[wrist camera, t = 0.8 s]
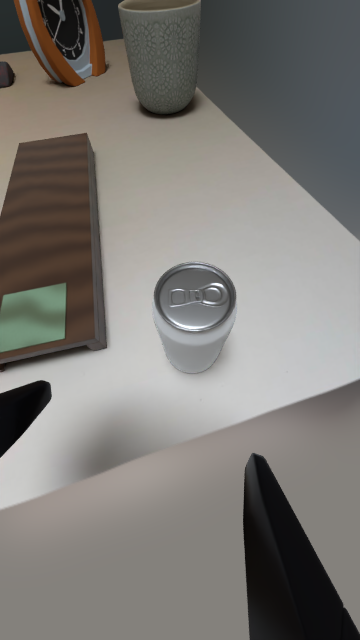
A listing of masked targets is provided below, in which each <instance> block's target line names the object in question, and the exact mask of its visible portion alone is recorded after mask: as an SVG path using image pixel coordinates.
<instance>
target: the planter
mask: <svg viewBox="0 0 360 640" xmlns="http://www.w3.org/2000/svg"><path fill="white" fill-rule="evenodd" d="M118 8H119V14H120V20H121V25H122V31H123V36H124V42H125V47H126V52H127V57H128V62H129V67H130V73H131V78H132V83H133V87H134V90H135V93H136V96H137V98H138V100H139V101H140V103H141V104H142V105H143V106H144V107H145V108H146V109H147V110H149V111H150V112H153V113H156V114H172V113H176V112H179V111H181V110H183V109H184V108H185V107H186V106H187V105H188V104H189V102H190V101H191V99H192V97H193V95H194V92H195V89H196V83H197V71H198V49H199V31H200V9H201V0H125V1H123V2H121V3H120V4H119V5H118Z"/></svg>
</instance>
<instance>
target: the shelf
mask: <svg viewBox="0 0 360 640" xmlns="http://www.w3.org/2000/svg"><path fill="white" fill-rule="evenodd" d="M83 345H86V346H88V347H89V348H91V349H92V350H94V351H96V350H100V349H104V348H107V345H106V330H105V315H104V300H103V284H102V269H101V254H100V239H99V224H98V209H97V194H96V179H95V164H94V152H93V149H92V146H91V143H90V141H89V138H88V135H87V133H83V134H77V135H70V136H64V137H57V138H51V139H44V140H38V141H31V142H25V143H19V146H18V150H17V154H16V158H15V162H14V166H13V169H12V173H11V177H10V181H9V185H8V189H7V193H6V196H5V200H4V204H3V208H2V212H1V216H0V372H2V371H4V369H5V363H6V362H11V361H15V360H20V359H24V358H29V357H33V356H38V355H42V354H47V353H51V352H56V351H60V350H65V349H69V348H74V347H78V346H83Z"/></svg>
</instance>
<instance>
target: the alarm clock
mask: <svg viewBox="0 0 360 640" xmlns="http://www.w3.org/2000/svg"><path fill="white" fill-rule="evenodd" d="M14 3H15V6H16V10H17V14H18V17H19V20H20V24H21V26H22V29H23V31H24V34H25V36H26V39H27V41H28V43H29V46H30V48H31V50H32V51H33V53H34V55H35V57H36V58H37V60H38V62H39V64H40V65H41V67H42V68H43V69H44V70H45V72H46V73H47V74H48V75H49V76H50V78H52V79H53V80H54V81H55V82H58V83H62V82H64V83H65V84H66V85H70V86H78V85H80V84H82V83H84V82H85V81H84V80H83V79H84V78H86V77H88V76H91V75H93V76H98V75H100V74H103V73H105V52H104V46H103V40H102V35H101V30H100V27H99V23H98V20H97V16H96V13H95V10H94V7H93V4H92V1H91V0H14Z"/></svg>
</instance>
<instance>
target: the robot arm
mask: <svg viewBox="0 0 360 640" xmlns="http://www.w3.org/2000/svg"><path fill="white" fill-rule="evenodd" d="M51 397H52V394H51V385H50V383H49V382H46V381H43V380H39V381H36V382H33V383H30V384H27V385H24V386H21V387H18V388H15V389H12V390H9V391H6V392H3V393H0V458H1V457H2V456H3V455H4V453H5V452H6V451H7V450H8V449H9V448H10V447H11V446H12V445H13V444H14V443H15V442H16V441H17V440H18V439H19V438H20V437H21V436H22V434H23V433H24V432H25V431H26V430H27V429H28V427H29V426H30V425H31V424H32V423H33V421H34V420H35V419H36V418H37V416H38V415H39V414H40V413H41V411H42V410H43V409H44V408H45V407H46V405H47V404H48V403H49V401H50V400H51ZM244 481H245V482H244V509H243V527H244V528H243V530H244V546H245V547H244V548H245V564H246V582H247V599H248V617H249V635H250V640H360V634H359V632H358V630H357V628H356V626H355V624H354V623H353V621H352V619H351V617H350V615H349V613H348V611H347V610H346V608H343V602H342V600H341V599H340V597H339V595H338V593H337V591H336V589H335V587H334V586H333V584H332V582H331V580H330V578H329V576H328V574H327V573H326V571H325V569H324V567H323V565H322V563H321V562H320V560H319V558H318V556H317V554H316V552H315V551H314V548H313V547H312V545H311V543H310V541H309V540H308V537H307V535H306V534H305V532H304V530H303V528H302V526H301V524H300V523H299V521H298V519H297V517H296V515H295V513H294V511H293V510H292V508H291V506H290V504H289V502H288V501H287V498H286V497H285V495H284V493H283V491H282V489H281V487H280V485H279V484H278V482H277V480H276V478H275V476H274V474H273V472H272V471H271V469H270V467H269V465H268V463H267V461H266V459H265V458H264V457H263V456H261V455H258V454H255V453H252V454H251V456H250V458H249V460H248V463H247V465H246V467H245V479H244Z"/></svg>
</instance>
